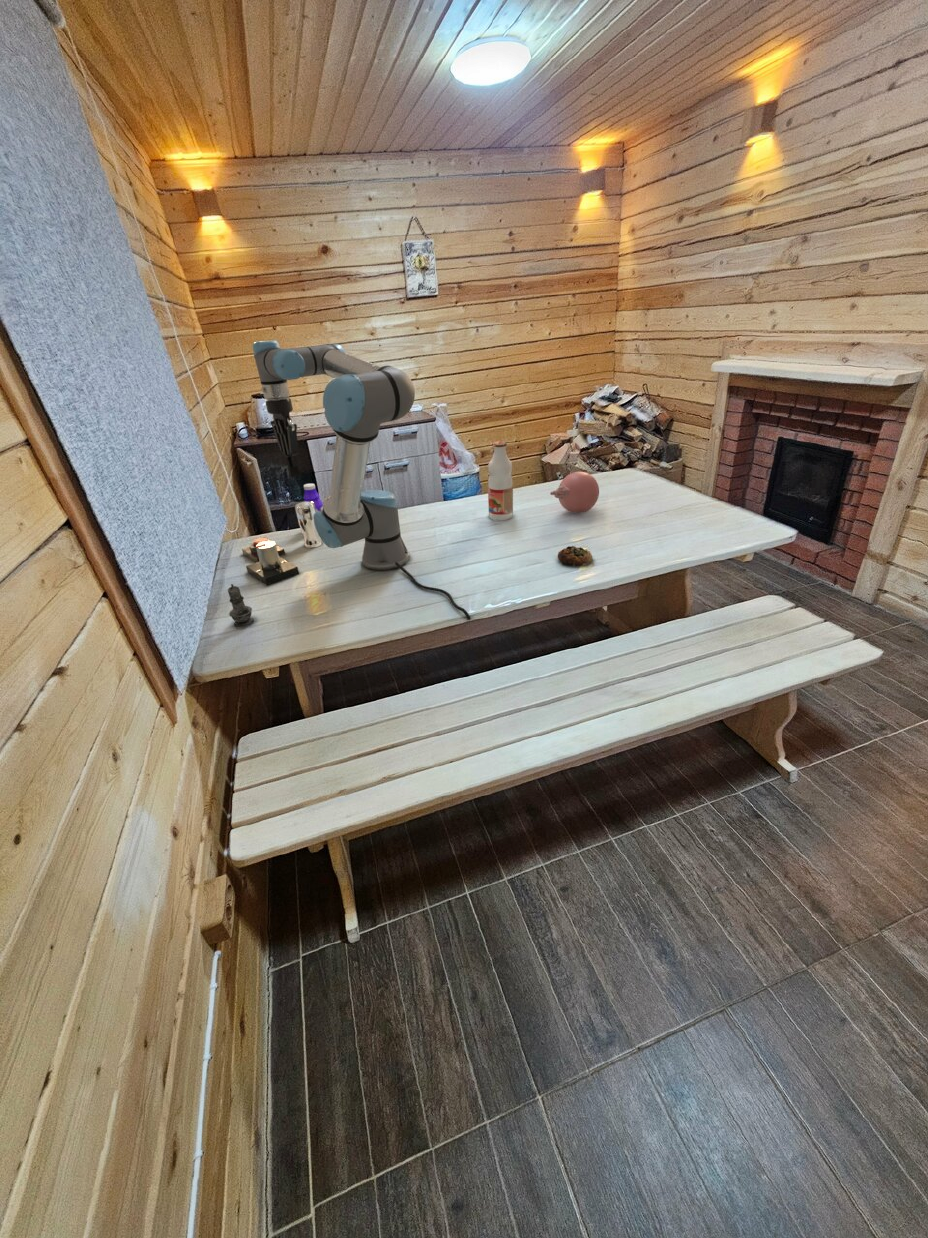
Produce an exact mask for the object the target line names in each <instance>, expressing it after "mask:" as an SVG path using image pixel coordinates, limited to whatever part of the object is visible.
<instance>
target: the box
mask: <svg viewBox="0 0 928 1238" xmlns="http://www.w3.org/2000/svg"><path fill="white" fill-rule="evenodd" d="M268 541H273V540H272V539H269V538H268ZM276 547H277V551H278V555H279V556H280V557H282V556H285V555H286V551H285V548H283V547H281V546H279V545H277V544H276ZM241 551H242V554H243V555H244V556H245V557H247V558H248V559H250V560H251V561H253V562H254V563H256V562H259V561H260V560H259V557H258V553H257V550H256V547H254V544H253V542H251V543H249V546H248V547H244V548H242V549H241Z"/></svg>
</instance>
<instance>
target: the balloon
mask: <svg viewBox="0 0 928 1238" xmlns="http://www.w3.org/2000/svg"><path fill="white" fill-rule="evenodd" d="M550 495H551V496H554V498H556V499H558V501H559V503H560V505H561V507H563V508H564V509H565V510H566V511H567V512H569V513H573V514H581V513H586V512H588V511H590V510H591V509H592V508H593V507H595V505H596V503H597V501H598V500H599V497H600V487H599V483H598V481H597V480H596V479H595V477H594V476H593V475H592V474H590V473H588V472H585V471H574V472H571V473H569V474H568V475H566V476H565V477H564V478H563V479H562V480H561V481H560V483H559V485H558V487H557V488H556V489H555V490H553V491H550Z"/></svg>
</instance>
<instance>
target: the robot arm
mask: <svg viewBox="0 0 928 1238" xmlns="http://www.w3.org/2000/svg"><path fill="white" fill-rule="evenodd" d="M252 350H253V358H254V360H255V363H256V369H257V372H258V377H259V381H260V384H261V389H260V390H261V392H262V393H263V397H264V398H263V399H266V400H265V406H266V407H265V408H266V410H267V413H268V414H269V415H272V420H271V421H270V422H269V423H270V425H271V427H272V429H273V433H274V435H275V437H276V442H277V445H278V449H279V450H280V453H281V454H283V456H285V460H286V465H287V469H288V474H289V477H290V478H295V477H298V476H300V475H301V474H300V470H299V464H298V460H297V455H299V453H300V452H299V443H298V442H299V441H298V432H297V431H298V425H297V423H293V422H292V417H291V415H290V413H291V412H293V410H294V408H293V403H292V399H291V398H290V396H291V393H290V392H291V391H290V388H289V384H288V381H293V380H299V379H300V378H305V377H313V376H320V375H321V376H322V375H325V376H328V377H330V378H331V379H330V380H329V381H328V382H327V384H326V385H325V388H324V389H323V395H322V407H323V408H324V412H323V414H324V417H325V419H326V422H327V424H328V425H329V426H330V428H331V430H332V431H333V433H335V435H336V436H335V445H334V454H333V461H332V472H331V480H330V490H329V491H330V492H329V495H328V496H327V497H325V499H324V500H323V502H322V503H323V510H322V511H317V512H316V513H314V516H313V520H314V525H315V528H316V530H317V532H318V535H319V537H320V539H321V542H322V543H323V544H324V545H325V546H326V547H327V548H329V549H337V548H342V547H344V546H346V545H350V544H353V543H356V542H359V541H361V540H364V545H363V551H362V552H363V553H362V556H361V559H362V564H363V566H364V567H365V568H367V569H369V570H373V571H390V570H394V569H397V568H398V569H400V570H401V571H402V572H403V573H404V574H405V575H406V576H408V577H409V579H410V580H411V581H412V582H413V583H414V584H415V586H417V587H419V588H420V589H424V590H427V591H433V592H439V593H442V594H443V595H445V596H447V598H448V599H449V601H450V603H451V605H452V606H453V607H454V608H455V609H457V610H458V611H461V612H462V613H463V614H464V616H465V618H466V619H467V620H468V621H470V620H472V618H471V616H470V614H469V613H468V612H467V610H466V609H465V608H463V607H461V606H459V605H458V604H457V603H456V602H455V600H454V598H453V597H452V595H451V594H450V593H449V592H447V590H445V589H442V588H437V587H433V586H432V587H431V586H426V585H423V584H422V583H420V582H418V581H417V580H416V578H415V577H414V576H413V575H412V574H411V573H410V572H409V571H408V570H407V569H406V568H404V567H403V566H404V565H406V564H407V563H408V562H409V560H410V554H409V550H408V549H407V547H406V544H405V542H404V540H403V538H402V534H401V526H400V517H399V510H398V509H399V506H398V502H397V497H396V496H395V494H394V493H392V492H391V491H388V490H380V489H369V490H363V487H364V482H365V477H366V472H367V471H366V470H367V466H368V459H369V454H370V448H371V443H372V442H374V441H375V440H377V438H378V436H379V432H380V427H381V424H385V423H390V422H393V421H397V420H398V421H399V420H400V419H402V418H404V417H405V416H406V415H408V413H409V412H410V411H411V409H412V408H413V405H414V402H415V399H416V398H415V397H416V391H415V386H414V382H413V381H412V379H411V377H410V376H409V374H407V373H406V372H405V371H403V370H402V369H400V368H397V367H394V366H392V365H382V366H381V365H378V364H375V363H372V362H370V361H367V360H364V359H362V358H359V357H357V356H354V355H351V354H349V353H346V351H345V349H344V348H343V346H342V345H341V344H337V343H335V344H334V343H333V344H332V343H327V344H321V345H313V346H312V345H311V346H303V347H302V346H301V347H291V348H281V346H280V343H279V341H277V340H273V339H272V340H271V339H270V340H259V341H254V342H253V343H252Z"/></svg>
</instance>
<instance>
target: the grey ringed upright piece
mask: <svg viewBox="0 0 928 1238" xmlns="http://www.w3.org/2000/svg"><path fill="white" fill-rule="evenodd" d="M227 593H228V595H229V596H228V597H229V603H231V606H232V609H231V610H230V611H229V613H228V615H229V617H231V619H232V620H233V621H234V623H233V626H234V627H235V628H237V629H238V628H239V629H240V628H247V627H249V626H251V625H252V624H254V622H255V619H254V618H253V617H252V611H253V608H252V607H251V606H248V605H246V604H245V601H244V599H245V597H244V596H243V595H242V592H241V590H240V587H239V586H236V585H234V584H233V583H231V584H230V587H228V589H227Z"/></svg>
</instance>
